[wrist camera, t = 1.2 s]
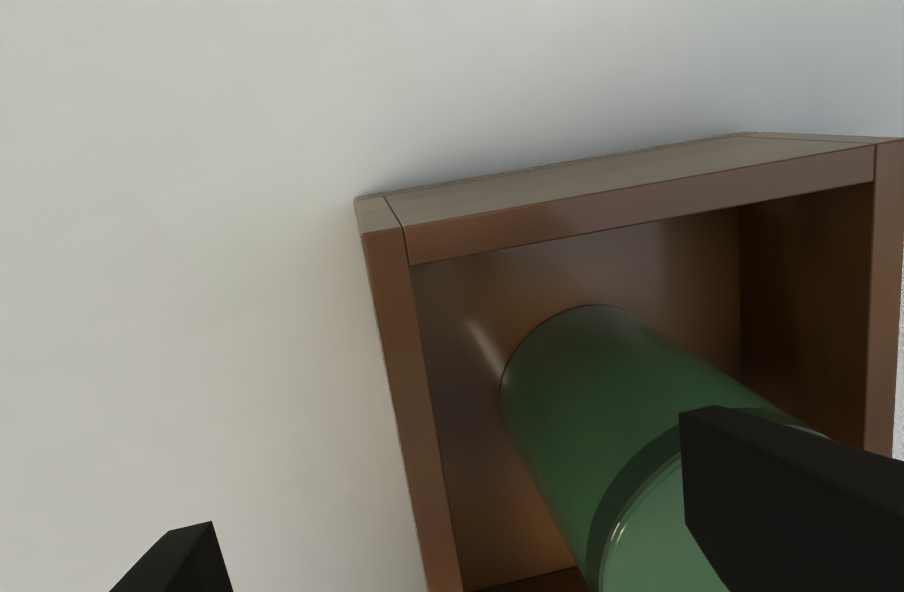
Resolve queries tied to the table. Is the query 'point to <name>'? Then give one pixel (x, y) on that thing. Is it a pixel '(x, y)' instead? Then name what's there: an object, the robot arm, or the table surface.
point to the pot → (617, 442)
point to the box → (634, 289)
